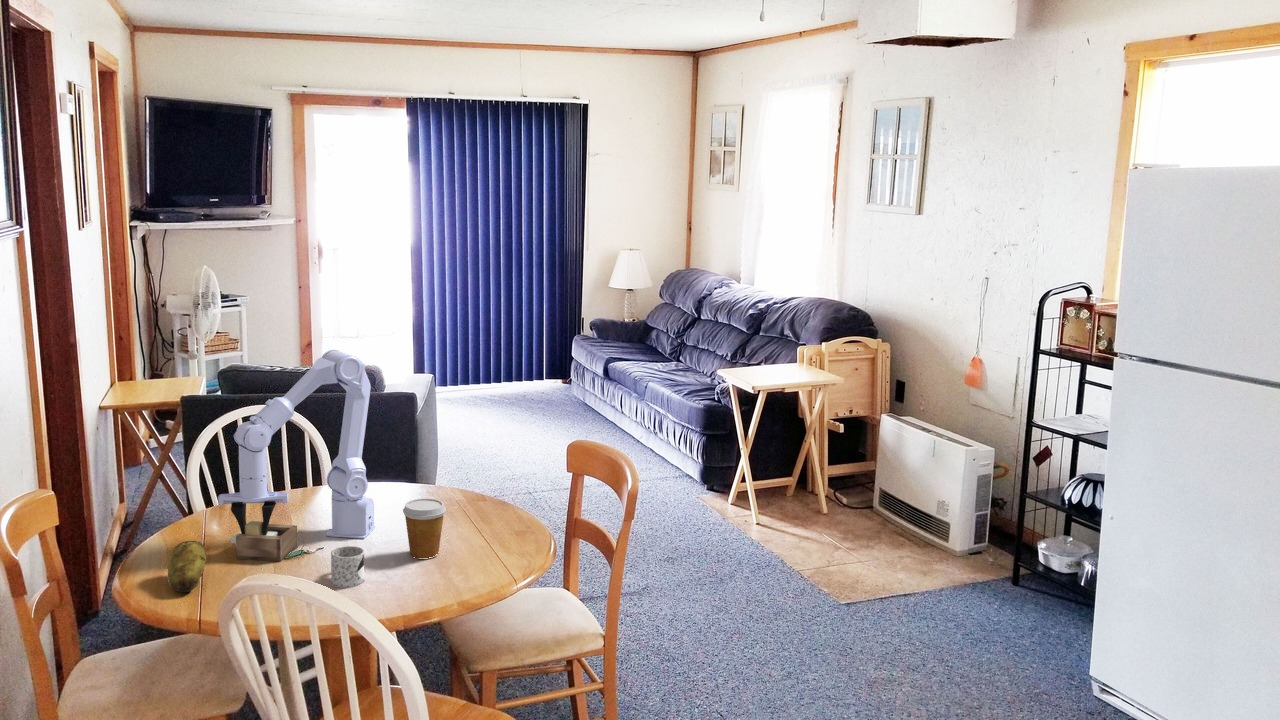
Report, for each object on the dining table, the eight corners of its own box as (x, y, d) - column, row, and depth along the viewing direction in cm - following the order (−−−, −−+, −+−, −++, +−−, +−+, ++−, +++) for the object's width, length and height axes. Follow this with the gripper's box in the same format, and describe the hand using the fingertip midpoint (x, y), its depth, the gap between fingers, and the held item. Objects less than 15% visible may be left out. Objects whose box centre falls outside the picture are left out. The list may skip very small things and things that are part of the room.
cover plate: (278, 536, 219) (277, 520, 218) (265, 545, 213) (264, 529, 212) (245, 533, 220) (244, 517, 219) (231, 542, 214) (230, 526, 213)
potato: (152, 596, 192) (150, 558, 191) (178, 571, 205) (177, 535, 203) (195, 597, 193) (193, 559, 191) (219, 572, 205) (217, 536, 204)
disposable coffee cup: (430, 544, 226) (431, 495, 224) (453, 555, 220) (454, 505, 218) (394, 553, 220) (394, 503, 218) (417, 565, 213) (417, 513, 211)
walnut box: (297, 547, 221) (297, 525, 220) (280, 561, 212) (280, 539, 211) (255, 544, 222) (254, 522, 221) (236, 558, 213) (235, 536, 212)
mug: (365, 586, 201) (365, 556, 200) (332, 589, 199) (332, 559, 198) (361, 568, 210) (361, 539, 209) (329, 571, 208) (329, 542, 207)
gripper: (290, 469, 219) (291, 526, 222) (222, 471, 216) (223, 528, 218) (285, 478, 213) (286, 537, 215) (215, 480, 209) (217, 539, 212)
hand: (254, 533), depth 216 cm, fingers closed on cover plate, 4 cm apart
